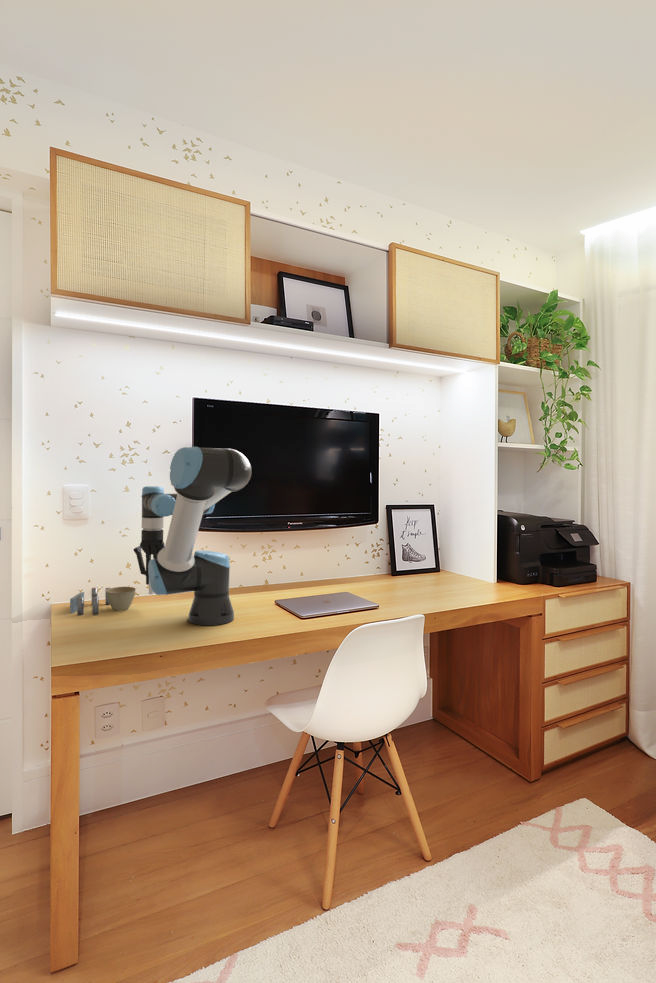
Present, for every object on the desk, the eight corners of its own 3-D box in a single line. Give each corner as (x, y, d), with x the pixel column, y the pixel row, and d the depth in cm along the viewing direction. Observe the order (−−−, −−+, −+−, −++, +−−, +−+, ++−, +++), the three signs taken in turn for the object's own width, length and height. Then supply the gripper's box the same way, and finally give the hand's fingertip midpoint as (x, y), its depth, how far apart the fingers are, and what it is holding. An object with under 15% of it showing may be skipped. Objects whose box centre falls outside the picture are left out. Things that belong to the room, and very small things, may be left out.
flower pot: (116, 604, 196) (116, 585, 195) (140, 606, 194) (141, 587, 193) (99, 611, 186) (99, 591, 186) (125, 613, 184) (125, 593, 184)
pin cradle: (111, 603, 197) (112, 587, 197) (97, 615, 181) (97, 598, 181) (83, 603, 196) (83, 587, 196) (66, 615, 180) (66, 598, 180)
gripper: (173, 528, 194) (172, 590, 195) (136, 527, 193) (136, 590, 194) (168, 530, 187) (167, 596, 188) (131, 530, 185) (130, 595, 187)
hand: (151, 593), depth 191 cm, fingers closed
